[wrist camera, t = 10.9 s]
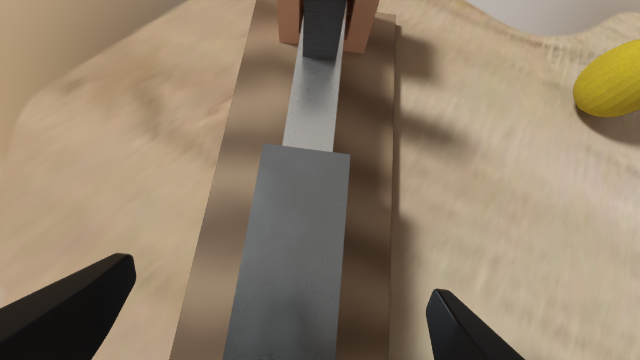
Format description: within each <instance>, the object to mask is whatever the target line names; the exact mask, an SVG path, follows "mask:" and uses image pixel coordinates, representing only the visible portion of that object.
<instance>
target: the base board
mask: <svg viewBox="0 0 640 360" xmlns="http://www.w3.org/2000/svg"><path fill="white" fill-rule="evenodd" d="M395 24H396V15H391V14H385V13H378V12H376V13H375V17H374V20H373V24H372V27H371V30H370V34H369V37H368V41H367V44H366V47H365V51H364V54H361V53H354V52H347V51H342V62H341V72H340V82H339V92H338V102H337V112H336V123H335V133H334V143H333V152H336V153H343V154H350V167H349V180H348V194H347V207H346V220H345V234H344V247H343V260H342V273H341V287H340V300H339V313H338V326H337V340H336V353H335V360H388V346H389V300H390V254H391V208H392V162H393V116H394V70H395ZM298 46H299V45H297V44H290V43H283V42H279V29H278V14H277V0H256V4H255V8H254V12H253V16H252V20H251V24H250V29H249V33H248V37H247V41H246V45H245V49H244V53H243V57H242V62H241V66H240V70H239V74H238V78H237V82H236V86H235V90H234V95H233V99H232V103H231V107H230V111H229V115H228V119H227V123H226V128H225V132H224V136H223V140H222V144H221V148H220V152H219V157H218V161H217V165H216V169H215V173H214V177H213V181H212V185H211V190H210V194H209V198H208V202H207V206H206V210H205V214H204V218H203V223H202V227H201V231H200V235H199V239H198V243H197V247H196V251H195V256H194V260H193V264H192V268H191V272H190V276H189V280H188V284H187V289H186V293H185V297H184V301H183V305H182V309H181V313H180V317H179V322H178V326H177V330H176V334H175V338H174V342H173V346H172V350H171V355H170V359H169V360H222V359H223V354H224V349H225V343H226V338H227V333H228V327H229V322H230V317H231V312H232V306H233V301H234V296H235V290H236V285H237V280H238V275H239V269H240V264H241V259H242V253H243V248H244V243H245V237H246V232H247V227H248V222H249V216H250V211H251V206H252V200H253V195H254V190H255V184H256V179H257V174H258V169H259V163H260V158H261V153H262V147H263V143H265V144H273V145H281V146H282V143H283V137H284V131H285V125H286V119H287V113H288V107H289V101H290V95H291V88H292V82H293V76H294V70H295V64H296V58H297V52H298Z"/></svg>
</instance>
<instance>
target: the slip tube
mask: <svg viewBox="0 0 640 360" xmlns="http://www.w3.org/2000/svg"><path fill="white" fill-rule="evenodd" d="M347 1H348V0H304V15H303V21H302V27H301V34H300V40H299V46H298V52H297V58H296V64H295V70H294V76H293V82H292V88H291V95H290V101H289V107H288V113H287V119H286V125H285V131H284V137H283V143H282V146H289V147H296V148H304V149H312V150H320V151H328V152H333V143H334V133H335V123H336V112H337V102H338V92H339V82H340V72H341V62H342V51H343V41H344V31H345V21H346V11H347Z"/></svg>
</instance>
